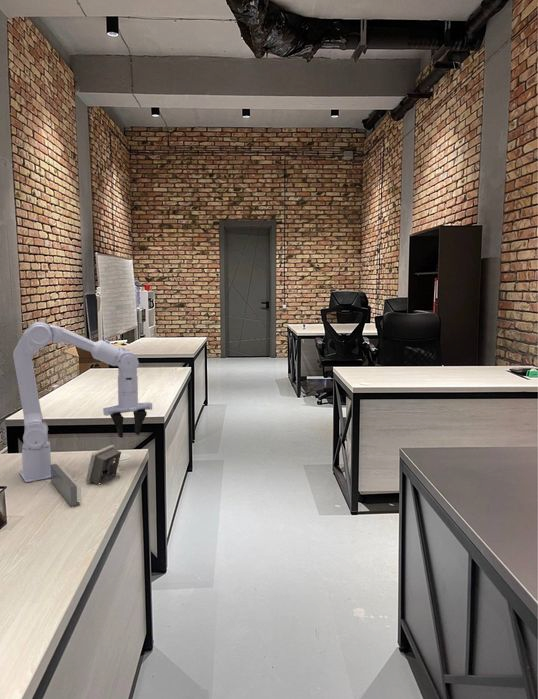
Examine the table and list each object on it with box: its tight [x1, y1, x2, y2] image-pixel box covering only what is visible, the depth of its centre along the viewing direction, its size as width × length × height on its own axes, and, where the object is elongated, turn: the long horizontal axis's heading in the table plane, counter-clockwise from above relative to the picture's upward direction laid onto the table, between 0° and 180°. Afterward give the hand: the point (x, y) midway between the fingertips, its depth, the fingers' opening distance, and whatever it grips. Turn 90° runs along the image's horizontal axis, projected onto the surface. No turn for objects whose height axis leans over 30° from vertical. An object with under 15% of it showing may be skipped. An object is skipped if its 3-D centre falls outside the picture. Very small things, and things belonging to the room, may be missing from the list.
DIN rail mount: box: [50, 463, 82, 508], centre depth 140 cm, size 20×2×5 cm, turn 35°
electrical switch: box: [85, 444, 122, 485], centre depth 150 cm, size 9×5×9 cm, turn 159°
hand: (128, 435), depth 161 cm, fingers open, 5 cm apart
